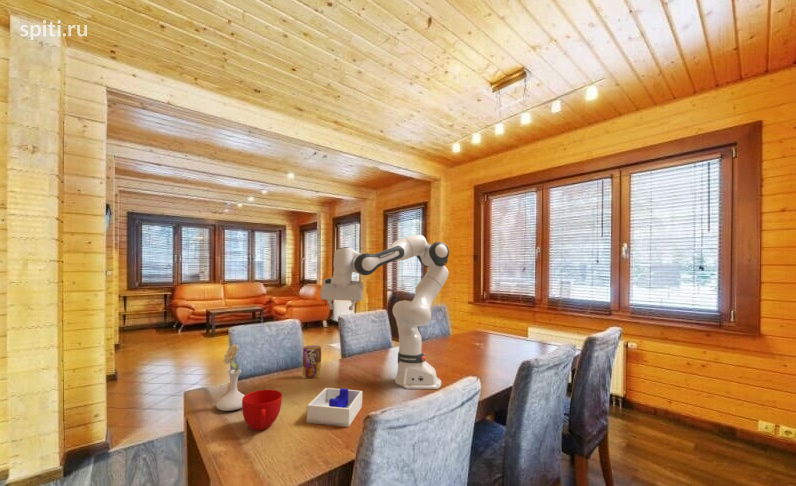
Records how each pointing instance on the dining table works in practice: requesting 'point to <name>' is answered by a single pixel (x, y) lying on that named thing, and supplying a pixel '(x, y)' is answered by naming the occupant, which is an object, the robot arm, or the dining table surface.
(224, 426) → the dining table surface
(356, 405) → the walled box
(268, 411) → the ceramic cup
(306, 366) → the candy box
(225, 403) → the flower in vase
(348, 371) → the dining table surface
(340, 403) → the blue curved block
